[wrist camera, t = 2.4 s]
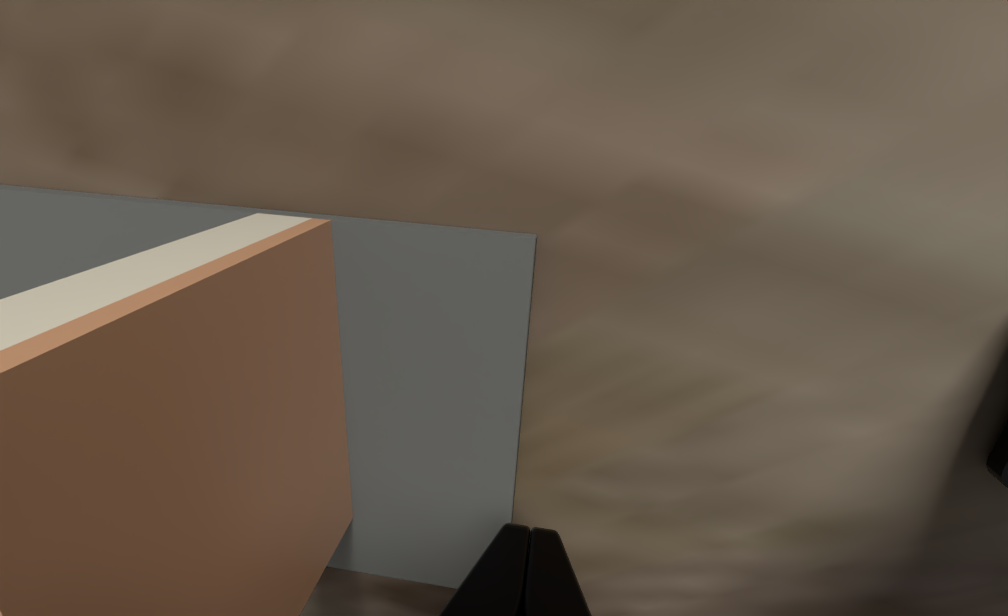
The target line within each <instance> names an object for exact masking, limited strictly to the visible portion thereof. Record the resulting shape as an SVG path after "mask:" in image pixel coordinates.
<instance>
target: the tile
mask: <svg viewBox="0 0 1008 616" xmlns="http://www.w3.org/2000/svg"><path fill="white" fill-rule="evenodd" d="M352 518H353V512H352V499H351V485H350V472H349V458H348V444H347V431H346V417H345V404H344V390H343V377H342V363H341V350H340V336H339V323H338V309H337V296H336V282H335V268H334V255H333V241H332V228H331V220H325V219H315V218H304V217H293V216H283V215H272V214H262V213H256V214H253V215H250V216H247V217H244V218H241V219H239V220H236V221H233V222H230V223H227V224H224V225H221V226H218V227H215V228H212V229H209V230H206V231H203V232H200V233H197V234H194V235H191V236H188V237H185V238H182V239H179V240H176V241H173V242H170V243H167V244H164V245H161V246H158V247H155V248H152V249H149V250H146V251H143V252H140V253H137V254H134V255H131V256H128V257H125V258H122V259H119V260H116V261H113V262H110V263H107V264H105V265H102V266H99V267H96V268H93V269H90V270H87V271H84V272H81V273H78V274H75V275H72V276H69V277H66V278H63V279H60V280H57V281H54V282H51V283H48V284H45V285H42V286H39V287H36V288H33V289H30V290H27V291H24V292H21V293H18V294H15V295H12V296H9V297H6V298H3V299H0V616H299V615H300V614H301V612H302V610H303V608H304V606H305V604H306V603H307V601H308V599H309V597H310V595H311V593H312V592H313V590H314V588H315V586H316V584H317V582H318V581H319V579H320V577H321V575H322V573H323V571H324V570H325V568H326V566H327V564H328V562H329V561H330V559H331V557H332V555H333V553H334V551H335V550H336V548H337V546H338V544H339V542H340V540H341V539H342V537H343V535H344V533H345V531H346V529H347V528H348V526H349V524H350V522H351V520H352Z"/></svg>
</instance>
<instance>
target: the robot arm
mask: <svg viewBox="0 0 1008 616" xmlns="http://www.w3.org/2000/svg"><path fill="white" fill-rule="evenodd" d="M986 465H987V468H988V471H989V472H990V473H991V474H992V475H993V476H994V477H996V478H997V479H998V480H999V481H1000V482H1001V483H1002V484H1003V485H1005V486H1006V487H1007V488H1008V421H1007V423H1006V424H1005V426H1004V428H1003V430H1002V432H1001V434H1000V436H999V437H998V439H997V441H996V443H995V445H994V447H993V449H992V451H991V452H990V454H989V456H988V459H987V463H986ZM529 540H530V542H529ZM528 549H529V551H528ZM527 559H528V560H527ZM521 613H522V614H521ZM438 616H591V613H590V611H589V608H588V606H587V603H586V601H585V598H584V596H583V593H582V591H581V588H580V586H579V583H578V581H577V578H576V576H575V573H574V571H573V568H572V566H571V563H570V561H569V558H568V556H567V553H566V551H565V548H564V546H563V543H562V541H561V538H560V536H559V534H558V532H556V531H555V530H550V529H544V528H537V527H534V528H532V530H531V533H530V528H529V527H528V526H524V525H518V524H512V523H506V524H504V525H503V526H502V527H501V529H500V530H499V532H498V533H497V534H496V536H495V537H494V539H493V540H492V541H491V543H490V544H489V545H488V547H487V548H486V550H485V551H484V552H483V554H482V555H481V557H480V558H479V559H478V561H477V562H476V564H475V565H474V566H473V568H472V569H471V571H470V572H469V573H468V575H467V576H466V578H465V579H464V580H463V582H462V583H461V585H460V586H459V587H458V589H457V590H456V592H455V593H454V594H453V596H452V597H451V599H450V600H449V601H448V603H447V604H446V605H445V607H444V608H443V610H442V611H441V612H440V614H439V615H438Z"/></svg>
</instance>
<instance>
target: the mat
mask: <svg viewBox="0 0 1008 616" xmlns="http://www.w3.org/2000/svg"><path fill="white" fill-rule="evenodd" d="M256 213H262V214H272V215H283V216H293V217H304V218H315V219H325V220H331V228H332V241H333V255H334V268H335V282H336V296H337V309H338V323H339V336H340V350H341V363H342V377H343V390H344V404H345V417H346V431H347V444H348V458H349V472H350V485H351V499H352V512H353V518H352V520H351V522H350V524H349V526H348V528H347V529H346V531H345V533H344V535H343V537H342V539H341V540H340V542H339V544H338V546H337V548H336V550H335V551H334V553H333V555H332V557H331V559H330V561H329V562H328V564H327V566H326V567H332V568H338V569H344V570H349V571H355V572H361V573H367V574H373V575H379V576H385V577H391V578H397V579H402V580H408V581H414V582H420V583H426V584H432V585H438V586H444V587H450V588H455V589H458V587H459V586H460V585H461V583H462V582H463V580H464V579H465V578H466V576H467V575H468V573H469V572H470V571H471V569H472V568H473V566H474V565H475V564H476V562H477V561H478V559H479V558H480V557H481V555H482V554H483V552H484V551H485V550H486V548H487V547H488V545H489V544H490V543H491V541H492V540H493V539H494V537H495V536H496V534H497V533H498V532H499V530H500V529H501V527H502V526H503V525H504V524H506V523H512V516H513V504H514V493H515V481H516V470H517V459H518V447H519V436H520V424H521V413H522V402H523V390H524V379H525V367H526V356H527V345H528V333H529V322H530V310H531V299H532V287H533V276H534V265H535V253H536V242H537V234H528V233H517V232H506V231H495V230H485V229H474V228H463V227H452V226H442V225H431V224H420V223H409V222H398V221H388V220H377V219H366V218H355V217H345V216H334V215H323V214H312V213H302V212H291V211H280V210H269V209H259V208H248V207H237V206H226V205H215V204H205V203H194V202H183V201H172V200H162V199H151V198H140V197H129V196H119V195H108V194H97V193H86V192H75V191H65V190H54V189H43V188H32V187H22V186H11V185H0V299H3V298H6V297H9V296H12V295H15V294H18V293H21V292H24V291H27V290H30V289H33V288H36V287H39V286H42V285H45V284H48V283H51V282H54V281H57V280H60V279H63V278H66V277H69V276H72V275H75V274H78V273H81V272H84V271H87V270H90V269H93V268H96V267H99V266H102V265H105V264H107V263H110V262H113V261H116V260H119V259H122V258H125V257H128V256H131V255H134V254H137V253H140V252H143V251H146V250H149V249H152V248H155V247H158V246H161V245H164V244H167V243H170V242H173V241H176V240H179V239H182V238H185V237H188V236H191V235H194V234H197V233H200V232H203V231H206V230H209V229H212V228H215V227H218V226H221V225H224V224H227V223H230V222H233V221H236V220H239V219H241V218H244V217H247V216H250V215H253V214H256Z"/></svg>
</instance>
